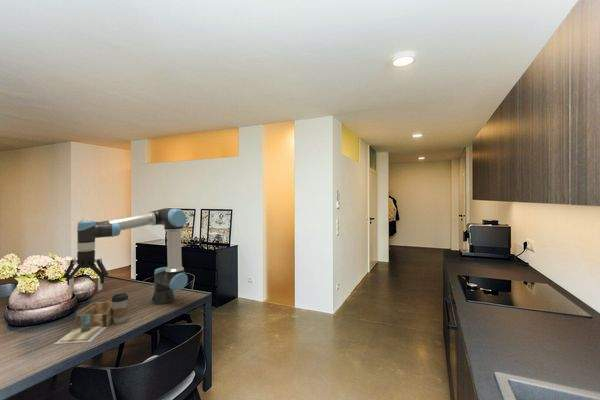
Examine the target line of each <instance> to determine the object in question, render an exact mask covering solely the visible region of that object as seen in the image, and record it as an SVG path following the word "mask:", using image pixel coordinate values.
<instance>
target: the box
mask: <svg viewBox="0 0 600 400" xmlns="http://www.w3.org/2000/svg"><path fill="white" fill-rule="evenodd" d="M83 314H90V327H97V326H102V327H107V328H108V327H109V326H110V325H111V324H112V323H114V322H113V314H112V301H105V302H104V301H103V302H102V301H101V302H100V301H99V302H97V301H96V302H91V303H90V304H88V305H87V306H85V307H84V308H82V309H81V310H79V311H78V312H76V314H75V315H76V316H75V317H76V319H75V320H76V321H75V322H76V326H75V329H76V328H80V327H81V315H83Z"/></svg>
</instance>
